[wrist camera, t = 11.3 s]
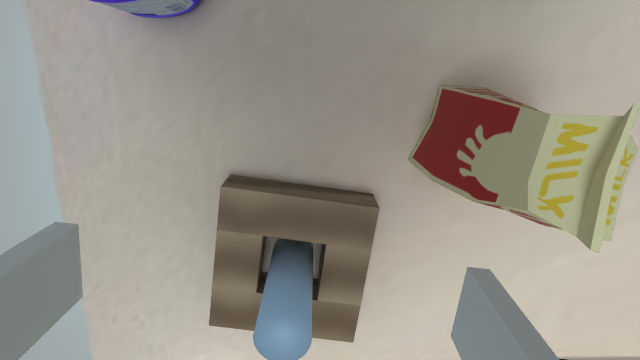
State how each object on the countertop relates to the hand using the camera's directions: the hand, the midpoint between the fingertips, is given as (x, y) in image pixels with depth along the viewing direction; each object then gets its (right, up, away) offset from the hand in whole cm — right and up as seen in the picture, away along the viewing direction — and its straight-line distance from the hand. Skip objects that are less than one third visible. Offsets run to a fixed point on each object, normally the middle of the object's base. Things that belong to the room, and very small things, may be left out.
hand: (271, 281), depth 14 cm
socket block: (-1, -4, +28) cm, 28 cm away
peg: (-1, -4, +28) cm, 28 cm away
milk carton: (+16, +8, +25) cm, 31 cm away
